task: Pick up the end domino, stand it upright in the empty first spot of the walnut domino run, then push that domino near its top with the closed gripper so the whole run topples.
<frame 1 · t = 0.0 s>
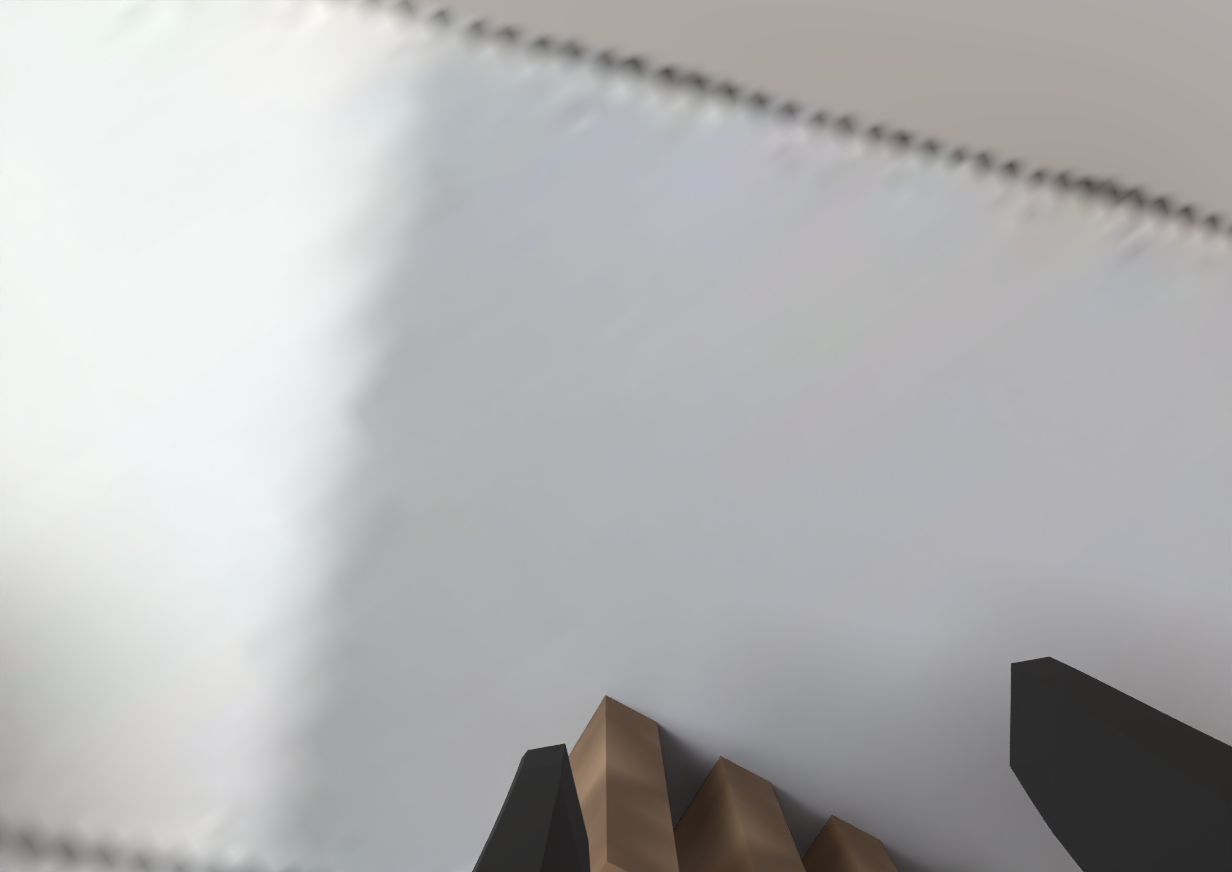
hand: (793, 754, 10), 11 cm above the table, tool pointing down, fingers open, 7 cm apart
domino 5: (594, 769, 22), on the table
domino 4: (708, 828, 22), on the table
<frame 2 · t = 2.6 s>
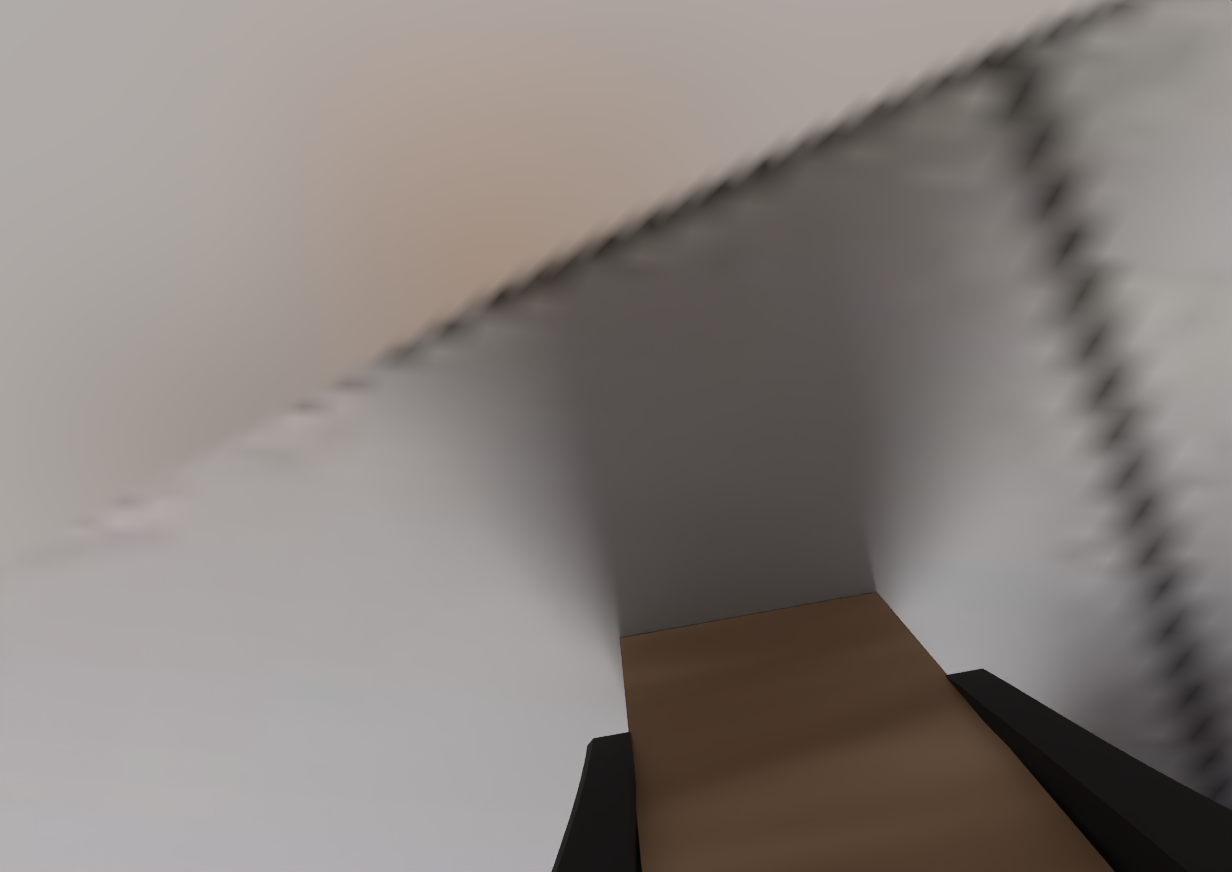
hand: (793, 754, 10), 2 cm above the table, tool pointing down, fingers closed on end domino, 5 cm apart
end domino: (753, 658, 12), on the table, touching gripper
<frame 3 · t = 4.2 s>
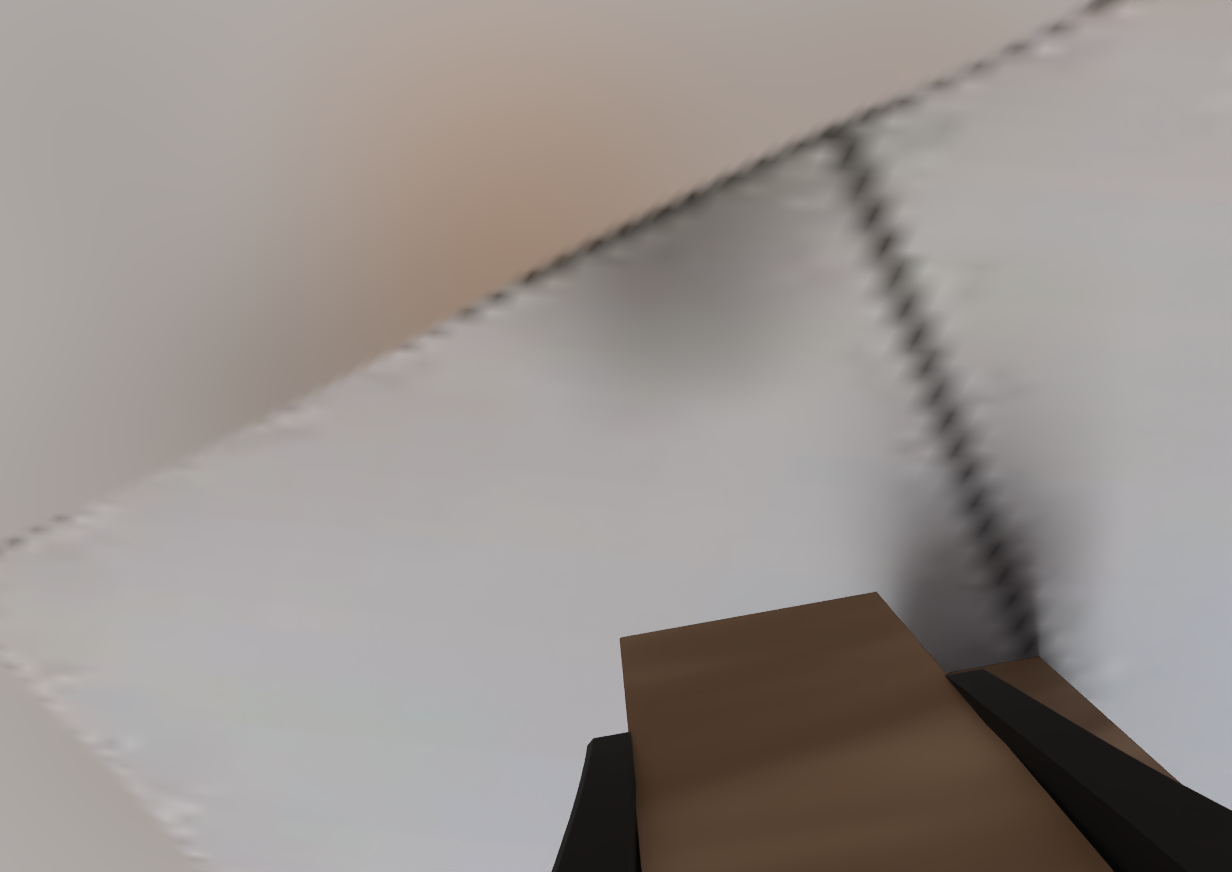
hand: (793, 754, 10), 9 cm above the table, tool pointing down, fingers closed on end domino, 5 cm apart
end domino: (753, 658, 12), point 7 cm above the table, touching gripper
domino 2: (964, 695, 21), on the table
when the fingers open (3 cm above the table, at t = 7.0 s): end domino stays where it is, on the table.
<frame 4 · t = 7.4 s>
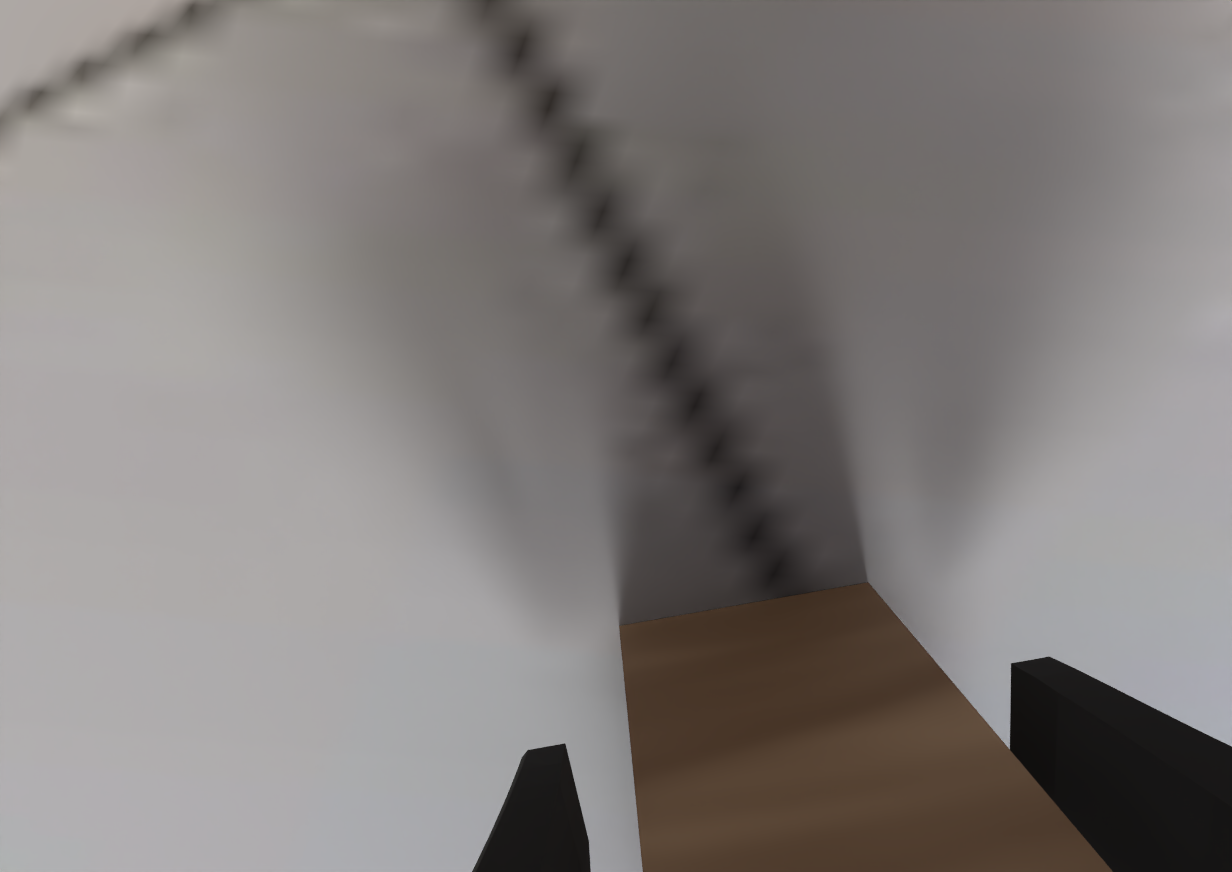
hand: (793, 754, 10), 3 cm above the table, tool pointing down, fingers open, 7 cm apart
end domino: (748, 646, 13), on the table
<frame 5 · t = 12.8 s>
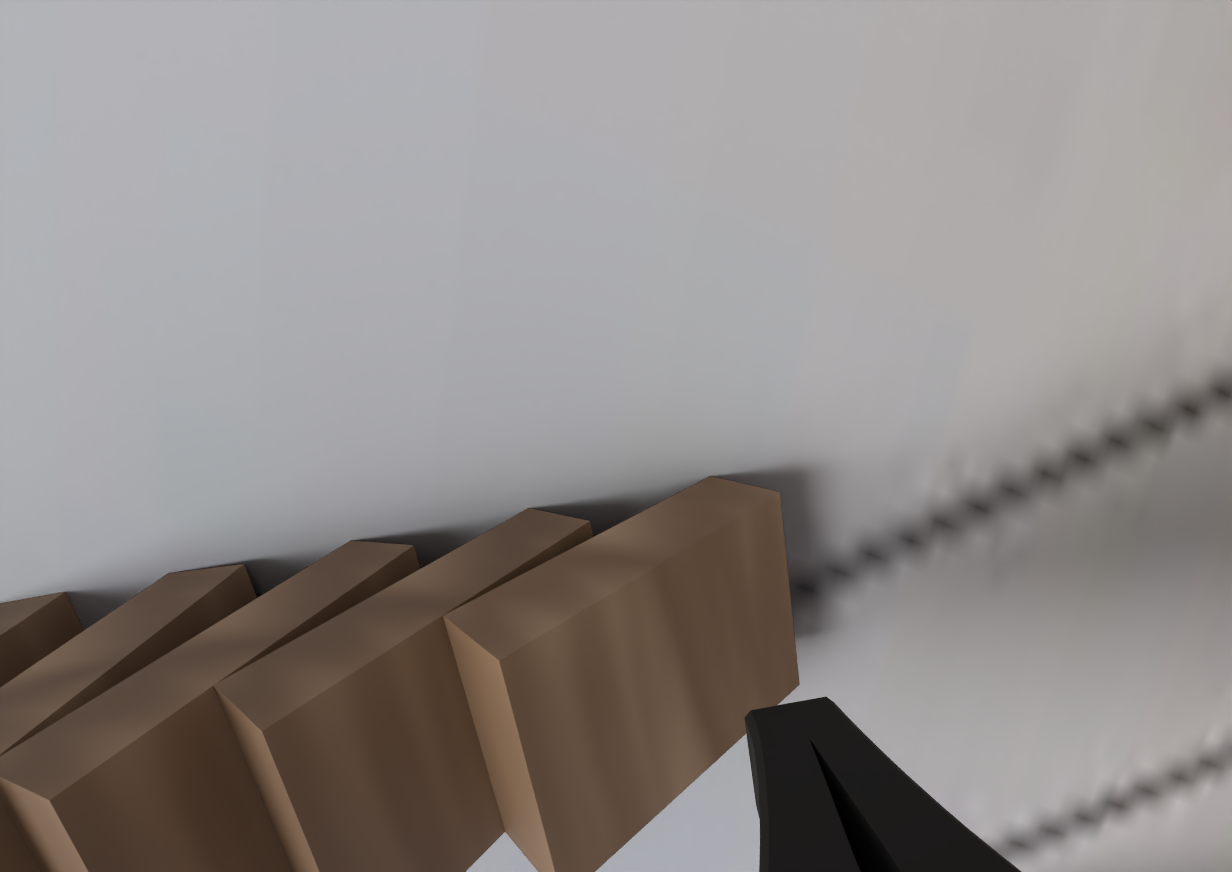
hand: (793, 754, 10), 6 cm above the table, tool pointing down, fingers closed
domino 3: (409, 634, 15), on the table, tilted 28°, touching domino 4
end domino: (754, 580, 15), point 1 cm above the table, tilted 53°
domino 5: (68, 685, 16), on the table
domino 4: (241, 657, 16), on the table, tilted 8°, touching domino 3
domino 2: (578, 608, 15), point 1 cm above the table, tilted 43°
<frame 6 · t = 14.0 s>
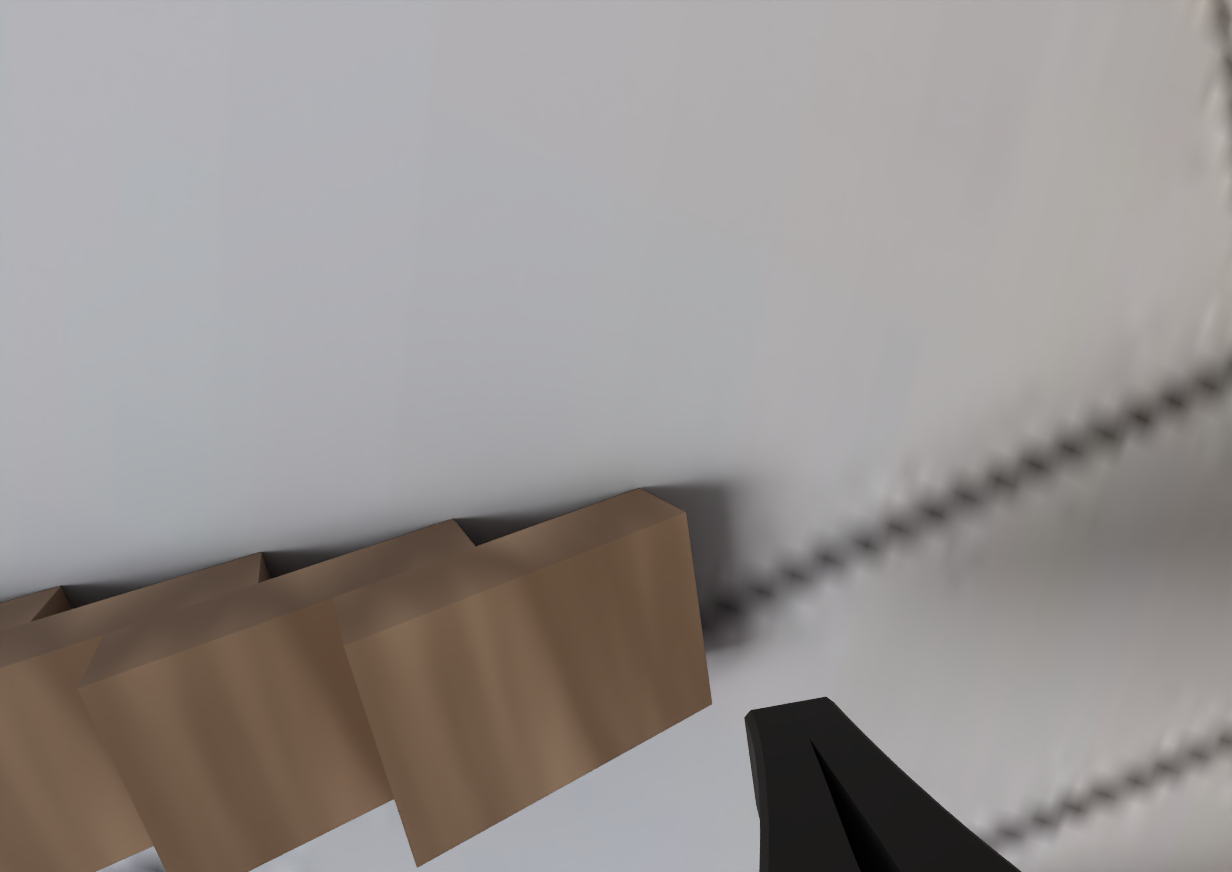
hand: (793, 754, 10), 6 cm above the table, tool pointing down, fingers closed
domino 3: (292, 659, 15), point 1 cm above the table, tilted 66°, touching domino 4
end domino: (675, 595, 15), point 1 cm above the table, tilted 64°, touching domino 2
domino 4: (89, 694, 15), point 1 cm above the table, tilted 68°, touching domino 3
domino 2: (487, 625, 15), point 1 cm above the table, tilted 65°, touching end domino
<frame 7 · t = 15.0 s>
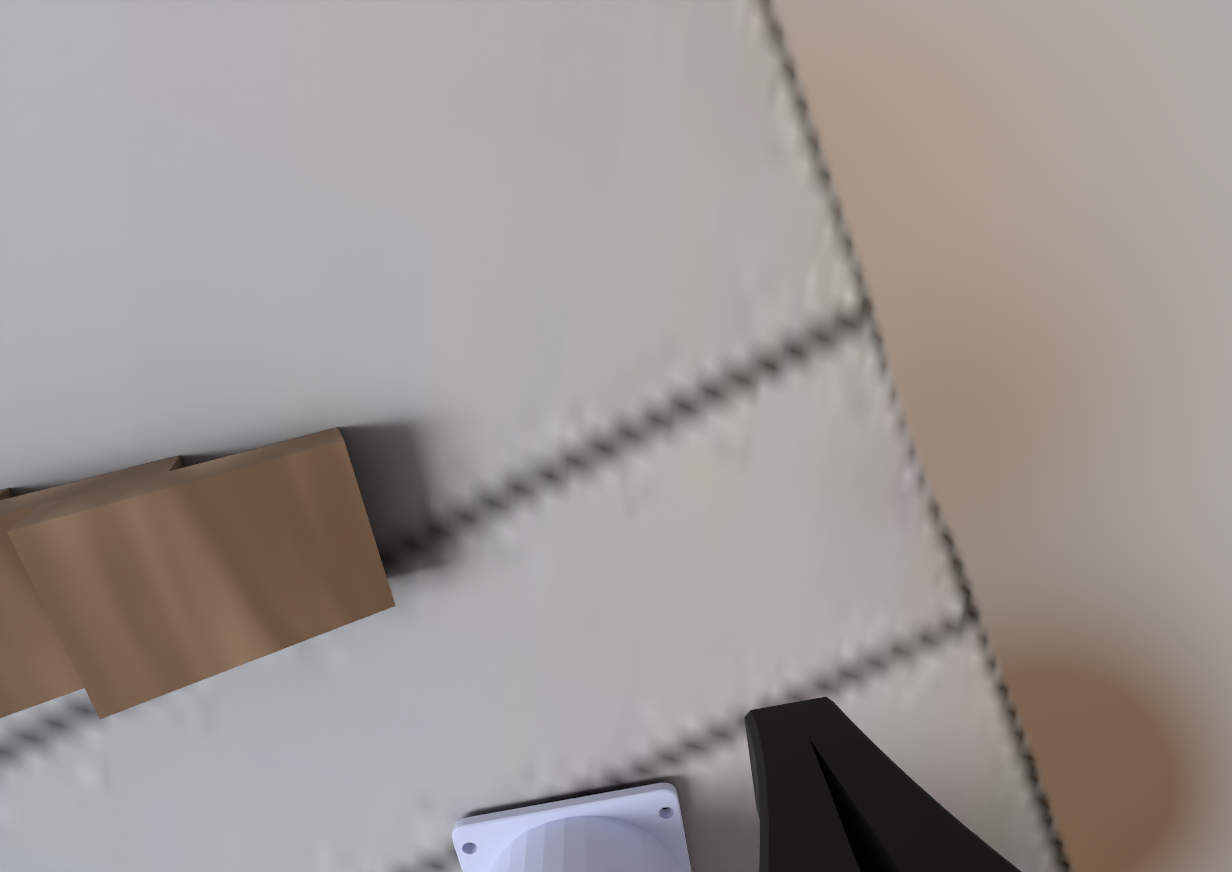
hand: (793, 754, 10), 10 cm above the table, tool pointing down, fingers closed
end domino: (366, 515, 18), point 1 cm above the table, tilted 65°, touching domino 2
domino 2: (206, 544, 18), point 1 cm above the table, tilted 66°, touching end domino
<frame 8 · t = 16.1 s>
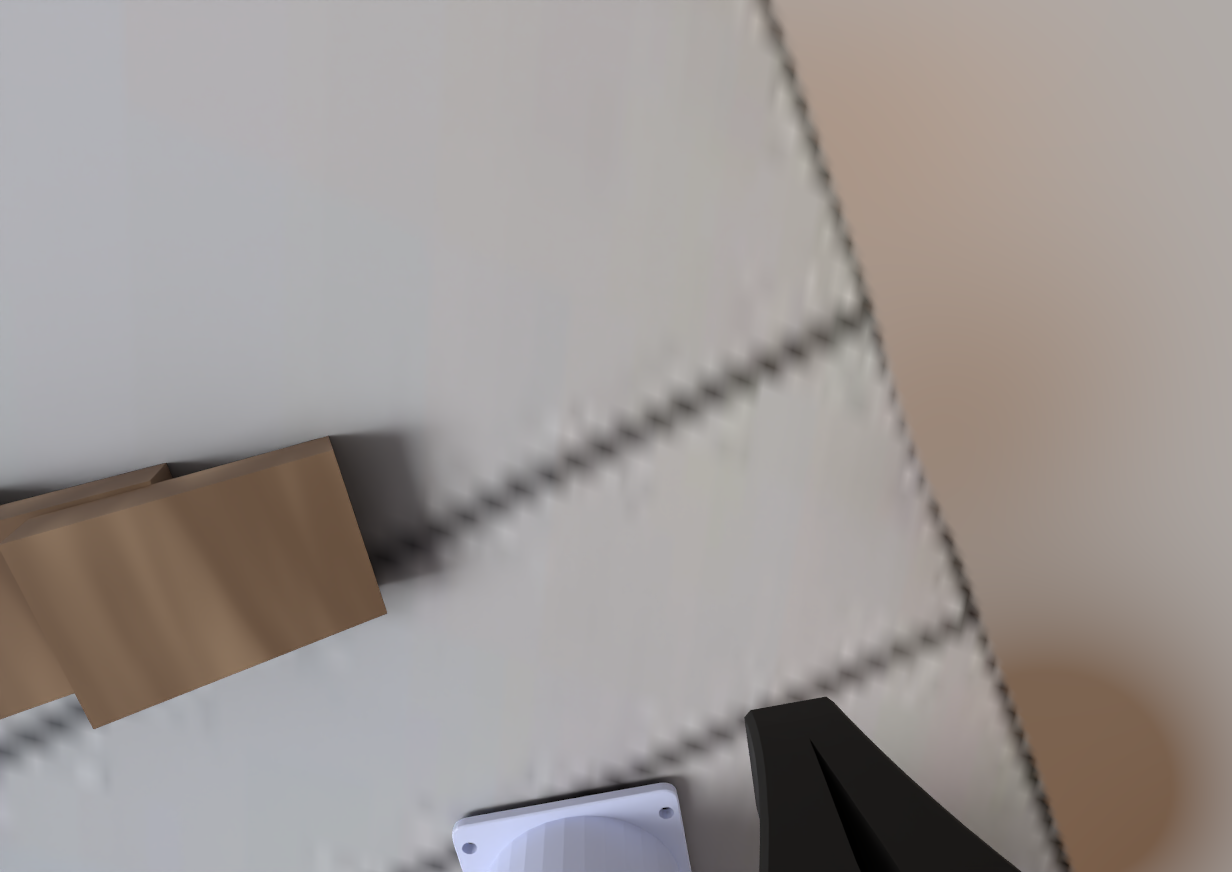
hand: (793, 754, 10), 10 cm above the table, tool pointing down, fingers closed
end domino: (357, 523, 18), point 1 cm above the table, tilted 65°, touching domino 2
domino 2: (192, 551, 18), point 1 cm above the table, tilted 68°, touching domino 3, end domino
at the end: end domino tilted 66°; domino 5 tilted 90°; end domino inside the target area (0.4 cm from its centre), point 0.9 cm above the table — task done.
